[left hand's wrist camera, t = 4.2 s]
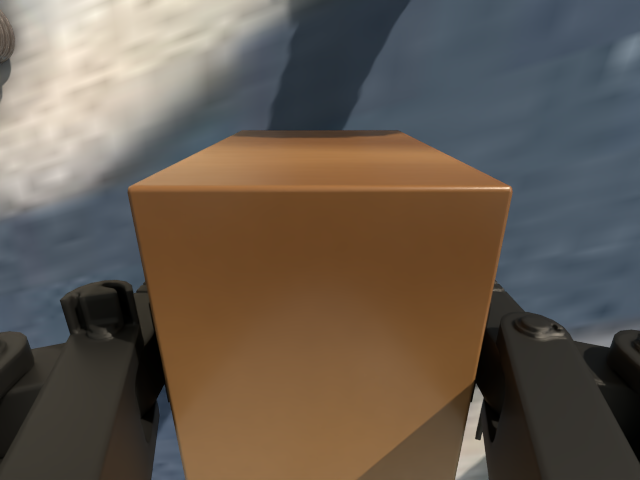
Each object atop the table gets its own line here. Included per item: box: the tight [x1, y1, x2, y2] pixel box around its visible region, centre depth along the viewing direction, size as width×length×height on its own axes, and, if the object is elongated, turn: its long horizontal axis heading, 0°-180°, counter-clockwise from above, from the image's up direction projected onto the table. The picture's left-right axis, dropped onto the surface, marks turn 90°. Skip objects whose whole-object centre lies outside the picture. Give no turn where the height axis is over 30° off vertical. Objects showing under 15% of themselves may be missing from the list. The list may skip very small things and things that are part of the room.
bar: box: [128, 130, 512, 480], centre depth 13 cm, size 23×6×8 cm, turn 0°
